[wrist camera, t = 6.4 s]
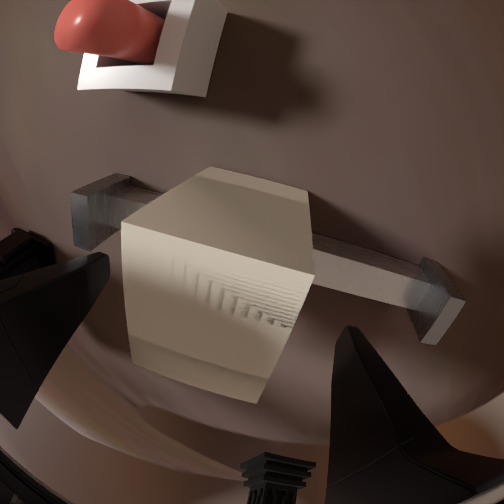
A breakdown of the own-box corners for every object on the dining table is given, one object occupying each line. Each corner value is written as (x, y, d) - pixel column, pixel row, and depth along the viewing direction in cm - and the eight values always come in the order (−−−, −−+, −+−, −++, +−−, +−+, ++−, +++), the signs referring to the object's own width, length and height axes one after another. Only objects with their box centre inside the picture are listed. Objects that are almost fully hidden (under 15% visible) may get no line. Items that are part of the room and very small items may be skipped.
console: (205, 97, 12) (170, 90, 8) (124, 91, 12) (77, 90, 9) (227, 11, 10) (202, -20, 6) (143, 13, 10) (101, -6, 6)
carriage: (276, 288, 16) (256, 403, 9) (195, 265, 16) (132, 363, 9) (307, 191, 13) (315, 275, 6) (210, 166, 13) (120, 221, 6)
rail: (416, 301, 15) (435, 345, 12) (113, 218, 16) (74, 245, 12) (437, 262, 14) (466, 301, 10) (115, 173, 14) (70, 192, 11)
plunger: (168, 64, 9) (95, 45, 5) (125, 65, 10) (47, 55, 5) (180, 18, 8) (117, -21, 4) (136, 21, 8) (65, -4, 4)
